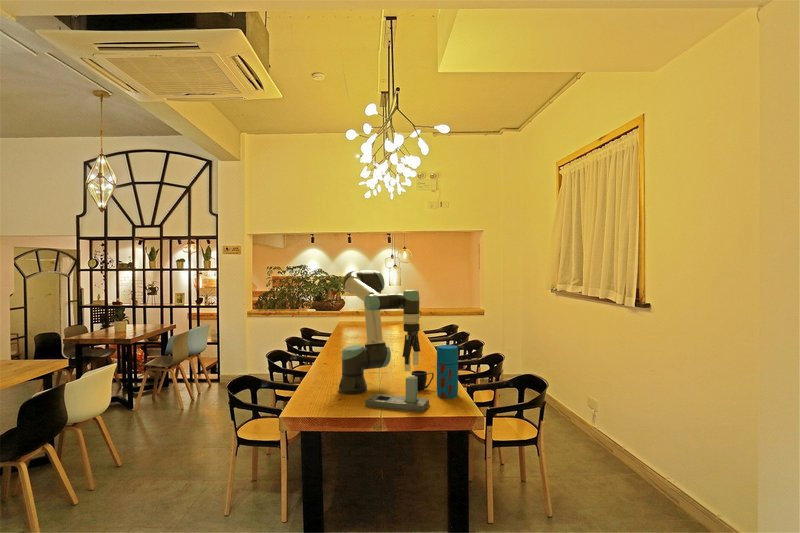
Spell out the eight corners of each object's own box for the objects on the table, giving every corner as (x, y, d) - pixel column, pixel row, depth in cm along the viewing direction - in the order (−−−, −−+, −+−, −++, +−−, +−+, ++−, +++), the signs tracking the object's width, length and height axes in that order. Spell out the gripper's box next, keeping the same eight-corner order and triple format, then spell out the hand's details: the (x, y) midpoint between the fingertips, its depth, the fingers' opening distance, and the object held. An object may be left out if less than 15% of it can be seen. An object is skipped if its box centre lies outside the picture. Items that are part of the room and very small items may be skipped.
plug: (405, 408, 210) (405, 376, 210) (408, 405, 215) (408, 374, 215) (414, 409, 209) (414, 377, 209) (417, 406, 213) (417, 375, 213)
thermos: (444, 391, 239) (444, 344, 239) (462, 395, 232) (461, 346, 232) (432, 396, 230) (432, 347, 230) (450, 400, 223) (450, 349, 223)
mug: (435, 391, 239) (435, 373, 239) (412, 392, 238) (412, 374, 238) (432, 387, 247) (432, 370, 247) (410, 388, 246) (410, 370, 246)
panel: (365, 406, 213) (365, 399, 213) (374, 399, 224) (374, 393, 224) (422, 412, 204) (422, 405, 204) (429, 404, 215) (429, 398, 215)
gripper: (411, 326, 199) (411, 374, 199) (426, 320, 223) (426, 363, 222) (395, 325, 201) (395, 373, 201) (411, 319, 225) (411, 362, 225)
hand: (411, 368), depth 212 cm, fingers open, 13 cm apart
